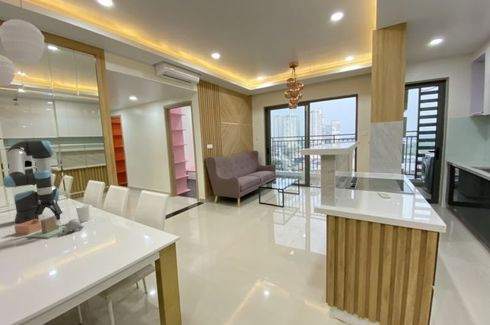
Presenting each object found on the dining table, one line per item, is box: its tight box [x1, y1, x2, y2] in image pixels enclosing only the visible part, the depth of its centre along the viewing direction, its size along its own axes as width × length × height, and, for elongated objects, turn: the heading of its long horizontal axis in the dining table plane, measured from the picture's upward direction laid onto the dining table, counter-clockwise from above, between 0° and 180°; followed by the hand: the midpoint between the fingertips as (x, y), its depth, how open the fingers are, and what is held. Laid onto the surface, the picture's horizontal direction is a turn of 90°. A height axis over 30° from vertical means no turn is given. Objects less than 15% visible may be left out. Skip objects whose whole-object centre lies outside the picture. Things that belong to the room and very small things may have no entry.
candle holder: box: [75, 203, 93, 223], centre depth 165 cm, size 10×10×12 cm
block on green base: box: [27, 215, 67, 239], centre depth 145 cm, size 16×16×10 cm
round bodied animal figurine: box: [59, 218, 84, 236], centre depth 144 cm, size 7×12×8 cm, turn 145°
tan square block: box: [14, 219, 42, 235], centre depth 151 cm, size 12×12×6 cm
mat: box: [24, 232, 62, 240], centre depth 145 cm, size 19×19×1 cm
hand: (50, 224), depth 145 cm, fingers open, 13 cm apart
